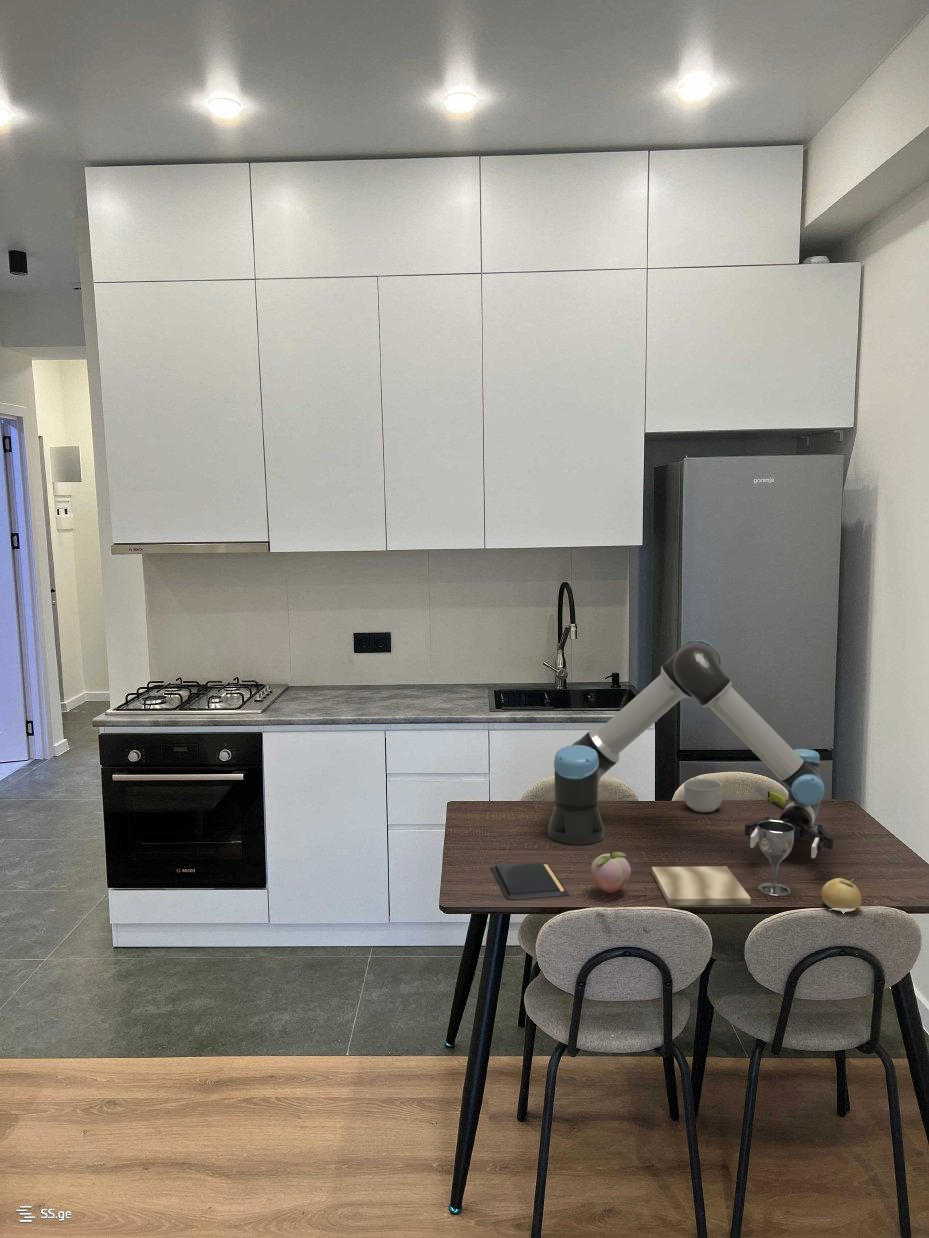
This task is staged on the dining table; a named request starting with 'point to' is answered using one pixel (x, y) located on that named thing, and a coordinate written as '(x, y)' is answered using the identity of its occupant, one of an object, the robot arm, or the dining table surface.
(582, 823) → the robot arm
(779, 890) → the wine glass
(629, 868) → the decorative fruit
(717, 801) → the teacup
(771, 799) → the kitchen knife
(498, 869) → the wallet
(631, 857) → the dining table surface
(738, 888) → the board
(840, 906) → the onion
